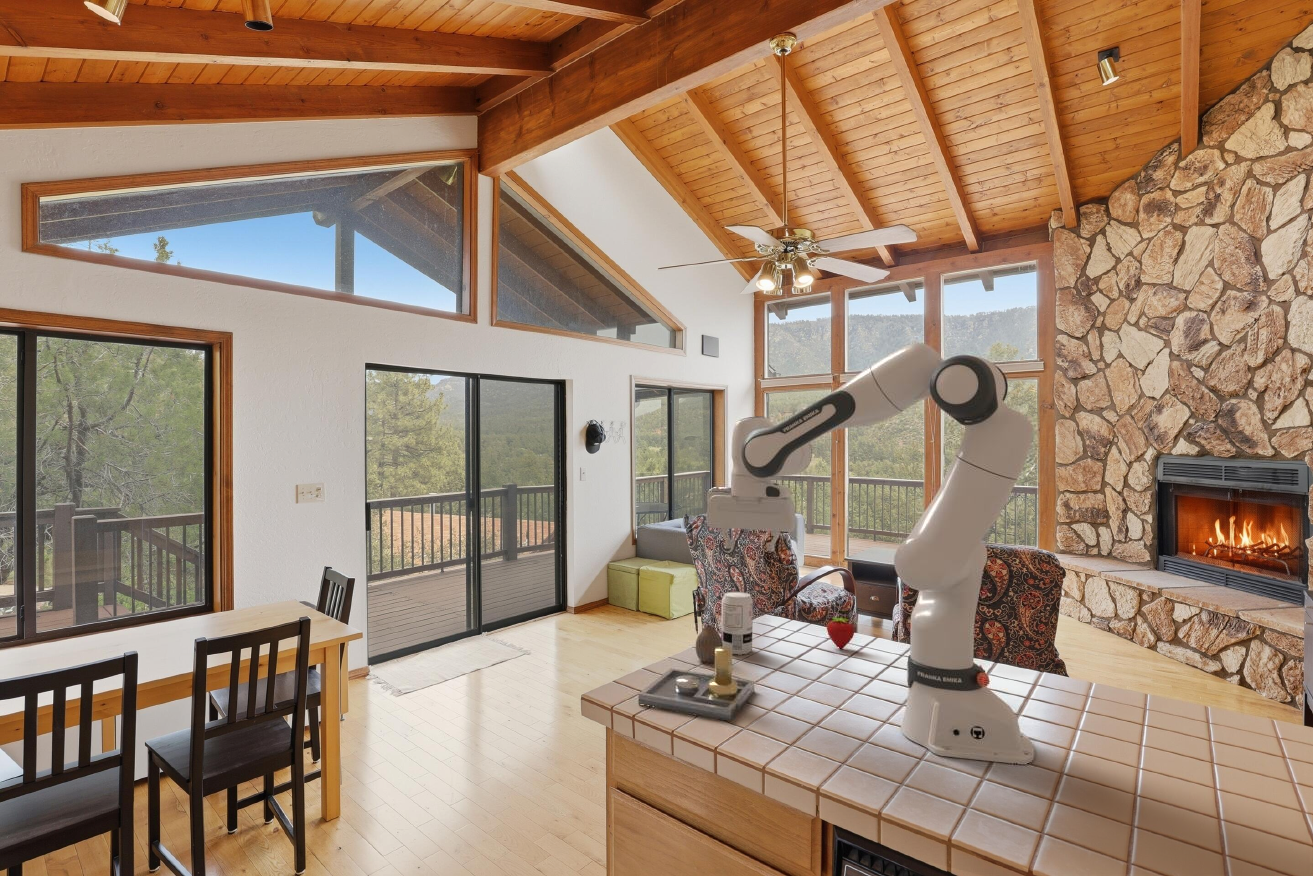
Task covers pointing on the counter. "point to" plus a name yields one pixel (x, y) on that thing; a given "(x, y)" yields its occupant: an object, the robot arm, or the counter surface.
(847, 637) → the strawberry
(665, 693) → the tray
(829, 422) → the robot arm
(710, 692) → the gold peg with base
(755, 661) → the counter surface
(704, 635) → the vase
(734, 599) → the supplement can
